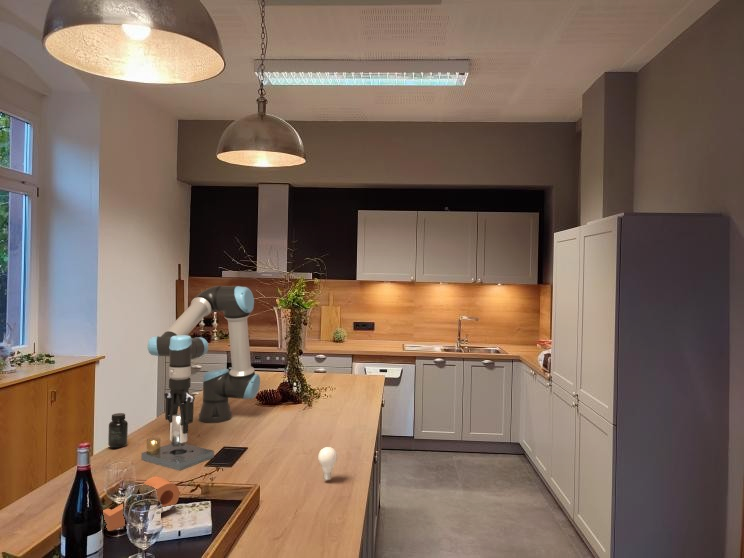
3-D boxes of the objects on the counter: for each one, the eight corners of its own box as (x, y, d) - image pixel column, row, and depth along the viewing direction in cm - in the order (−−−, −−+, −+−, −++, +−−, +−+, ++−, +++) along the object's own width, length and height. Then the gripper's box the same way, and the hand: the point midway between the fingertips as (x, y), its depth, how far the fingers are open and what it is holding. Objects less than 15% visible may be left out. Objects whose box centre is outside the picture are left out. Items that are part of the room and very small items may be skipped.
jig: (140, 459, 193) (141, 440, 193) (176, 448, 207) (176, 430, 207) (179, 470, 183) (180, 450, 183) (214, 457, 197) (214, 438, 197)
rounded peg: (168, 445, 194) (169, 415, 194) (179, 442, 198) (179, 412, 198) (177, 447, 191) (178, 417, 191) (187, 444, 196) (188, 414, 196)
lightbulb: (317, 476, 180) (318, 444, 180) (336, 476, 181) (337, 444, 181) (317, 483, 174) (318, 450, 174) (336, 483, 174) (337, 450, 174)
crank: (165, 499, 160) (165, 473, 160) (179, 507, 155) (179, 480, 155) (96, 521, 144) (97, 492, 144) (109, 531, 139) (110, 501, 139)
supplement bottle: (113, 441, 213) (114, 412, 213) (130, 442, 212) (131, 412, 212) (104, 447, 206) (105, 416, 206) (121, 447, 206) (122, 417, 206)
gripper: (155, 376, 196) (153, 439, 196) (188, 381, 187) (187, 447, 187) (171, 373, 202) (170, 434, 202) (204, 378, 194) (203, 442, 194)
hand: (178, 440), depth 195 cm, fingers closed on rounded peg, 4 cm apart
